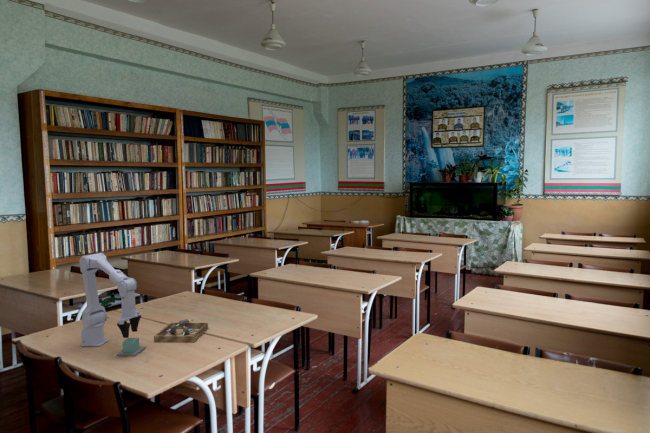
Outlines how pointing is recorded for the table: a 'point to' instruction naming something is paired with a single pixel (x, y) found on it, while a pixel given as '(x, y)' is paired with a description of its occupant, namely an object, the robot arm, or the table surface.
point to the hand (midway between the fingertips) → (130, 334)
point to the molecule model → (181, 324)
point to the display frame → (161, 338)
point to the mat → (131, 353)
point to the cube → (130, 345)
